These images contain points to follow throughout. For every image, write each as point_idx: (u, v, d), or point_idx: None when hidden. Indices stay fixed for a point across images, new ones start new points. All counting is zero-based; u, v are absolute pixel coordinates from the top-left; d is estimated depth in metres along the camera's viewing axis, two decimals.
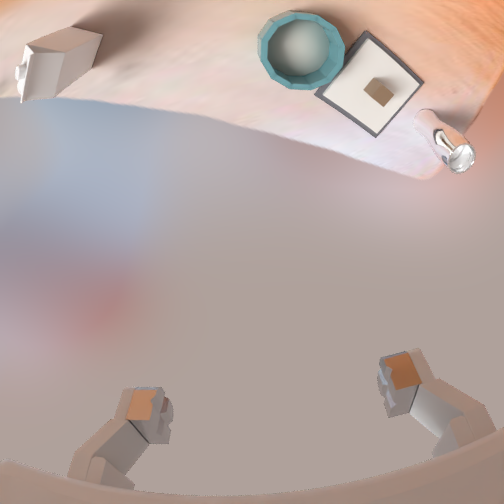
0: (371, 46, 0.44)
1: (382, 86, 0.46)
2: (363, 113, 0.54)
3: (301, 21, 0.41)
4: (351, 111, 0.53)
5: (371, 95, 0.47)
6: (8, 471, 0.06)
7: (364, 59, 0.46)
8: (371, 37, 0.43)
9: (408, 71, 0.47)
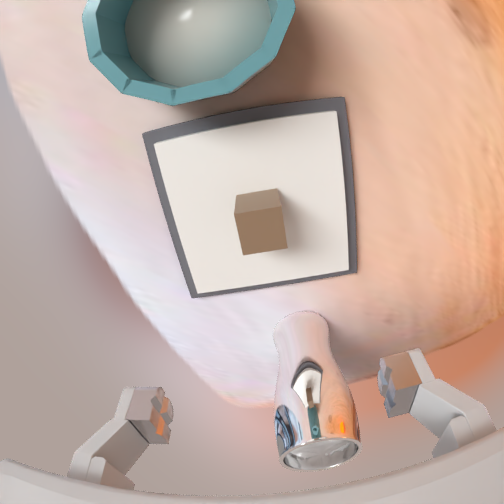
0: (328, 127, 0.22)
1: (277, 211, 0.21)
2: (199, 239, 0.27)
3: None
4: (180, 217, 0.26)
5: (238, 211, 0.22)
6: (8, 471, 0.06)
7: (291, 140, 0.23)
8: (342, 116, 0.23)
9: (349, 232, 0.27)
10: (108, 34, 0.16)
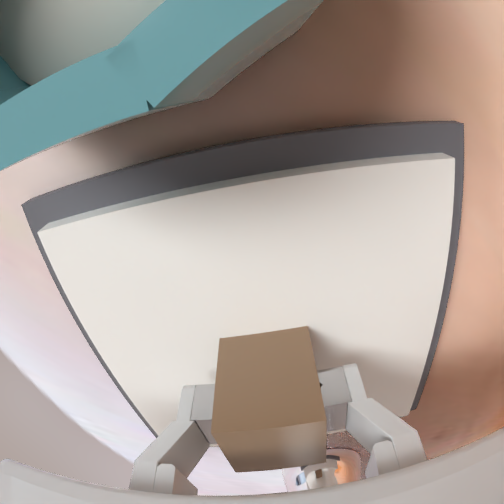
0: (434, 196, 0.09)
1: (316, 427, 0.08)
2: (157, 395, 0.13)
3: None
4: (116, 364, 0.12)
5: (221, 422, 0.08)
6: (8, 471, 0.06)
7: (351, 226, 0.09)
8: (455, 166, 0.09)
9: None
10: None
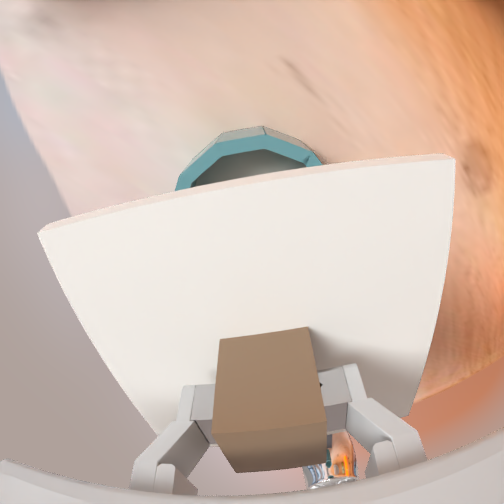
0: (435, 197, 0.09)
1: (316, 427, 0.08)
2: (157, 395, 0.13)
3: None
4: (116, 364, 0.12)
5: (221, 423, 0.08)
6: (8, 471, 0.06)
7: (351, 226, 0.09)
8: None
9: None
10: None
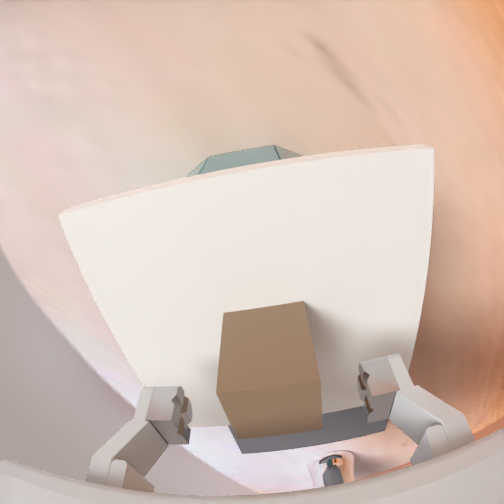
0: (416, 182, 0.10)
1: (311, 387, 0.09)
2: (163, 371, 0.14)
3: None
4: (126, 341, 0.13)
5: (225, 383, 0.09)
6: (8, 471, 0.06)
7: (340, 208, 0.11)
8: None
9: None
10: None
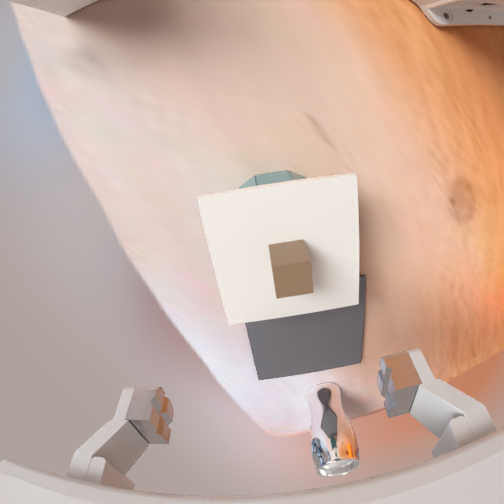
0: (349, 188, 0.27)
1: (307, 264, 0.26)
2: (233, 280, 0.31)
3: None
4: (218, 262, 0.30)
5: (274, 264, 0.26)
6: (8, 471, 0.06)
7: (317, 199, 0.27)
8: (362, 287, 0.39)
9: (358, 344, 0.44)
10: None
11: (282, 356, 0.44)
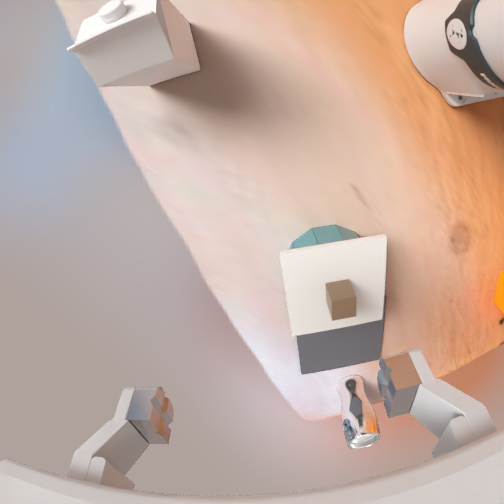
0: (381, 245, 0.39)
1: (354, 299, 0.38)
2: (299, 306, 0.43)
3: None
4: (289, 295, 0.42)
5: (333, 299, 0.38)
6: (8, 471, 0.06)
7: (360, 253, 0.39)
8: None
9: (378, 345, 0.56)
10: None
11: (321, 355, 0.57)
